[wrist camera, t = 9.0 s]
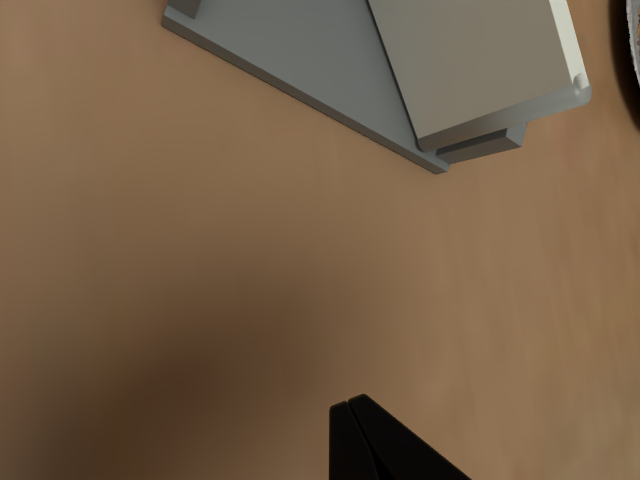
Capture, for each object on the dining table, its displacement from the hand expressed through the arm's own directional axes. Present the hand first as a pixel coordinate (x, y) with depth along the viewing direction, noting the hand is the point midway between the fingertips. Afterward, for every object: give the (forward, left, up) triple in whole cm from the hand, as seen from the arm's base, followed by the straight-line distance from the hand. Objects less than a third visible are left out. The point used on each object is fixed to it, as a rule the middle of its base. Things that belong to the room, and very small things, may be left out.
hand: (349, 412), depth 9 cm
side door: (+14, -10, -11) cm, 20 cm away
